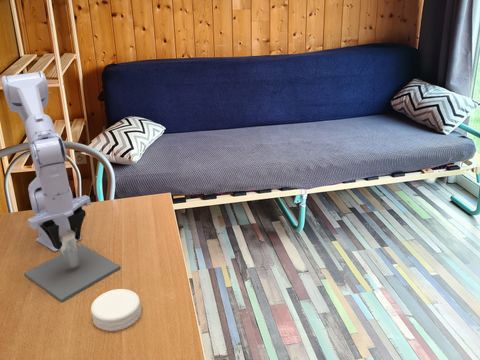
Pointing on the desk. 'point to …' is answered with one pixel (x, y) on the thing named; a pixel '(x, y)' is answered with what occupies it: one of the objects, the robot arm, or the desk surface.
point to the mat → (72, 273)
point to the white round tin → (116, 310)
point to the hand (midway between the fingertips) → (66, 242)
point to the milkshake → (68, 248)
